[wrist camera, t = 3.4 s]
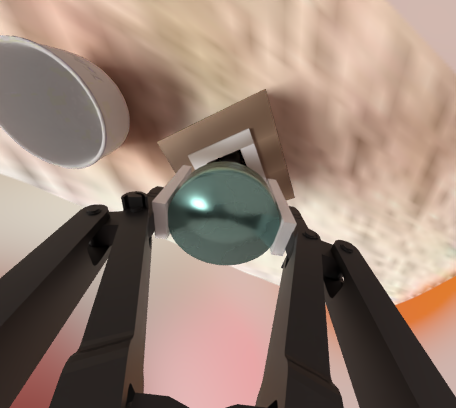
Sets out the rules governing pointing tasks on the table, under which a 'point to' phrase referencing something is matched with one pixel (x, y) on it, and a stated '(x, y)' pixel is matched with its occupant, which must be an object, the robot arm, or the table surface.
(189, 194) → the teal rounded knob
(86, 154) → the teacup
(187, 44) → the table surface
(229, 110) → the block
